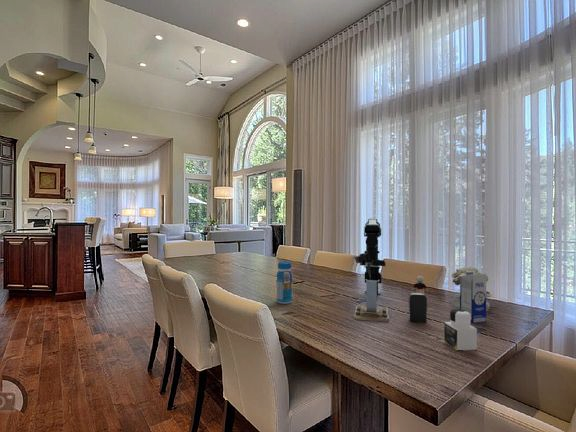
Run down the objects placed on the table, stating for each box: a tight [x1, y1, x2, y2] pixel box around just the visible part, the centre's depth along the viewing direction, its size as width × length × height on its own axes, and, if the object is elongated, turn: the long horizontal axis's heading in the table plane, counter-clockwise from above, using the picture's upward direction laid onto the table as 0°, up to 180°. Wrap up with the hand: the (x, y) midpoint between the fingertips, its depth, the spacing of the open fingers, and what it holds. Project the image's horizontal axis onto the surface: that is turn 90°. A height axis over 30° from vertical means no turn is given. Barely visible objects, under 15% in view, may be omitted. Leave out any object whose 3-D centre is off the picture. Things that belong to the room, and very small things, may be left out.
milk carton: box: [459, 272, 487, 324], centre depth 131 cm, size 7×7×20 cm
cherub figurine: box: [449, 265, 493, 312], centre depth 153 cm, size 18×18×18 cm
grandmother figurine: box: [411, 275, 429, 296], centre depth 160 cm, size 8×4×13 cm, turn 84°
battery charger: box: [408, 292, 428, 323], centre depth 130 cm, size 7×4×11 cm, turn 79°
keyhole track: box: [353, 304, 390, 323], centre depth 138 cm, size 16×14×3 cm
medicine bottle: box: [443, 308, 478, 351], centre depth 106 cm, size 7×7×12 cm
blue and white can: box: [275, 260, 294, 305], centre depth 159 cm, size 8×8×20 cm
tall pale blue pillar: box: [365, 279, 378, 312], centre depth 140 cm, size 5×4×13 cm
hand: (372, 280), depth 154 cm, fingers closed
